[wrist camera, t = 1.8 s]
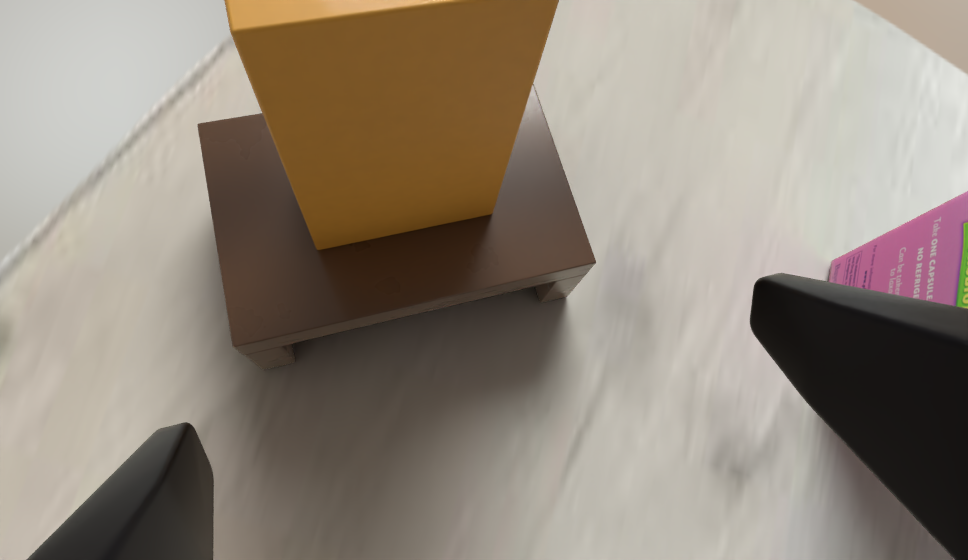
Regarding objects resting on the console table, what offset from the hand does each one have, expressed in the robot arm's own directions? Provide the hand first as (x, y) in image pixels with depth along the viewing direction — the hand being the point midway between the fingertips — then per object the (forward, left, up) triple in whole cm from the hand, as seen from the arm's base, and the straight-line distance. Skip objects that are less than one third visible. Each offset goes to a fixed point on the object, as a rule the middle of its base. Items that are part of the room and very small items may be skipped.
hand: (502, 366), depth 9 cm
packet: (+7, +4, -9) cm, 12 cm away
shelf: (+7, +4, -13) cm, 16 cm away
